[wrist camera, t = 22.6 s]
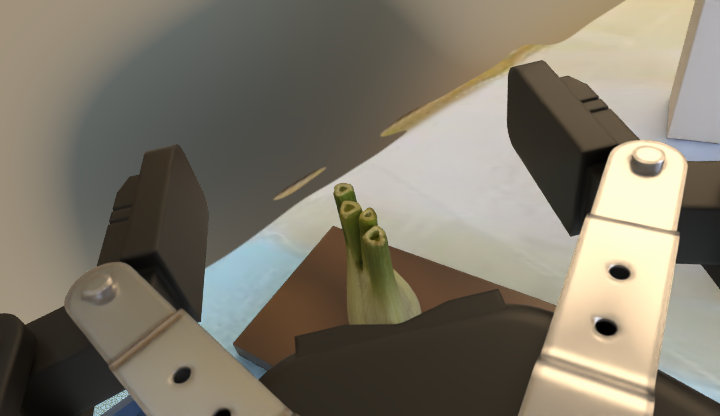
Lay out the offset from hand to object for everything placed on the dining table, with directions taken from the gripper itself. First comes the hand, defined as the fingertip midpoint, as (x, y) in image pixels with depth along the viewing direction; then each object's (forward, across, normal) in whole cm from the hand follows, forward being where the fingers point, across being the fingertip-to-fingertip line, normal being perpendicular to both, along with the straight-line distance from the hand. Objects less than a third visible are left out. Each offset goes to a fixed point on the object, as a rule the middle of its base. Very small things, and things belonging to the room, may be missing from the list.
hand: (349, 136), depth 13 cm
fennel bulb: (+11, 0, +25) cm, 27 cm away
